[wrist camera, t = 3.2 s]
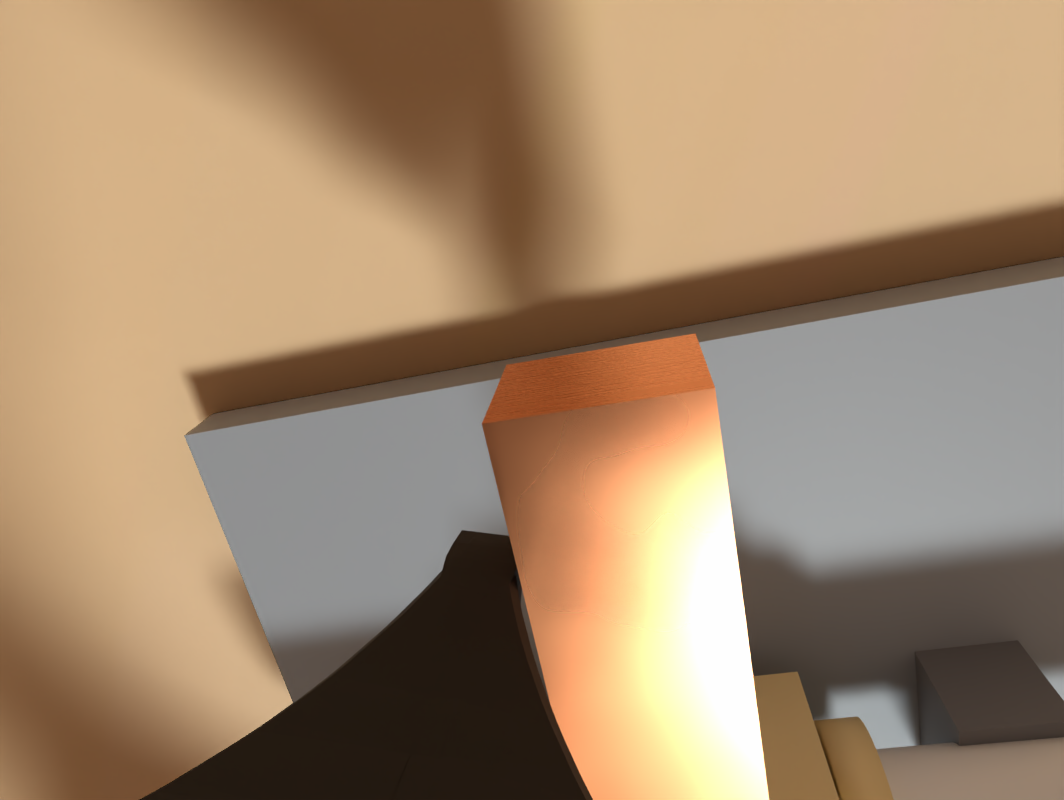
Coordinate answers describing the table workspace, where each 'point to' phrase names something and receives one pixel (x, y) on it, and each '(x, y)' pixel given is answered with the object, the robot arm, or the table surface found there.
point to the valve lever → (631, 567)
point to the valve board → (748, 526)
